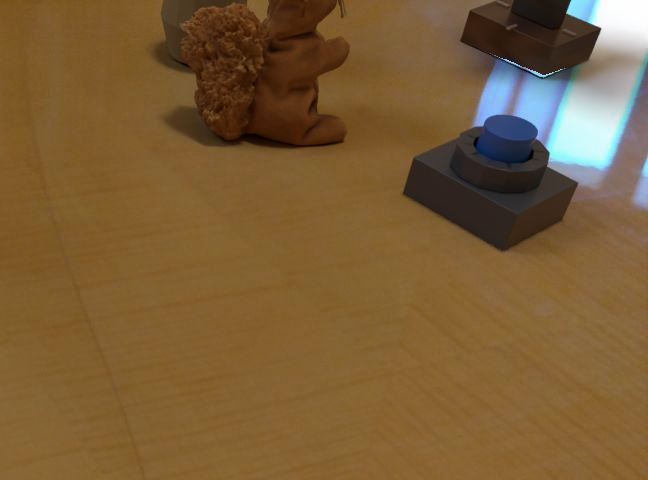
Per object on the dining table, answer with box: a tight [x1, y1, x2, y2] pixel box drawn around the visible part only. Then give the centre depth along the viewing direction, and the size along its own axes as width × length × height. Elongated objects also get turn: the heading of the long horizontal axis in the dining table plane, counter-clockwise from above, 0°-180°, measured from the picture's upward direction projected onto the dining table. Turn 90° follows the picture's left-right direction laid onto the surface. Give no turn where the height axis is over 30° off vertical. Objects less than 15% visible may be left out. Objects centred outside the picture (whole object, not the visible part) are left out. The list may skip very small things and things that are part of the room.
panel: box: [460, 0, 602, 75], centre depth 99 cm, size 10×9×3 cm
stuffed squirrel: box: [179, 0, 351, 146], centre depth 83 cm, size 10×14×13 cm
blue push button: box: [476, 114, 539, 163], centre depth 76 cm, size 4×4×2 cm
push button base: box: [402, 125, 579, 252], centre depth 79 cm, size 10×8×5 cm
